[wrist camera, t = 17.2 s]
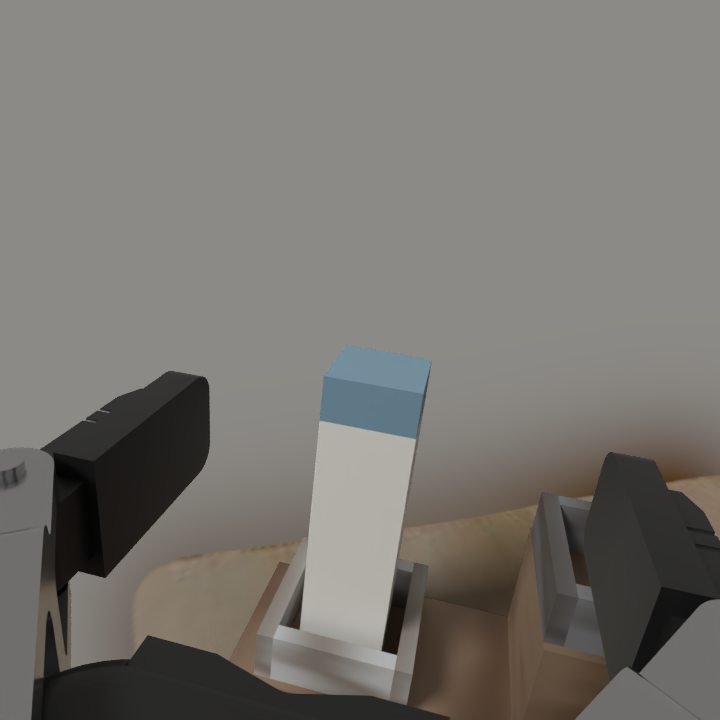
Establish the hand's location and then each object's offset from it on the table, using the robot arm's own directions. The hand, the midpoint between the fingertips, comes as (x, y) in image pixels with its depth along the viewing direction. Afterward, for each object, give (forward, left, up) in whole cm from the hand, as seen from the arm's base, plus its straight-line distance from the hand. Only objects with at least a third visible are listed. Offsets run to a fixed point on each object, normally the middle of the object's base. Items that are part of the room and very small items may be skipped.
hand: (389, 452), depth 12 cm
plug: (+2, -13, -18) cm, 22 cm away
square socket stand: (-4, -13, -20) cm, 24 cm away
